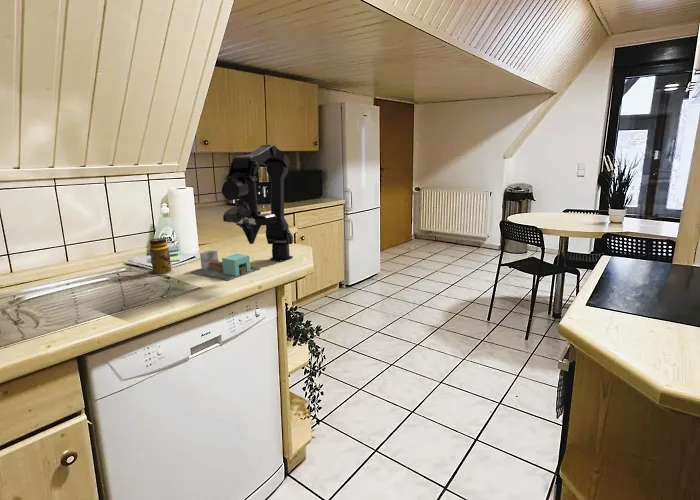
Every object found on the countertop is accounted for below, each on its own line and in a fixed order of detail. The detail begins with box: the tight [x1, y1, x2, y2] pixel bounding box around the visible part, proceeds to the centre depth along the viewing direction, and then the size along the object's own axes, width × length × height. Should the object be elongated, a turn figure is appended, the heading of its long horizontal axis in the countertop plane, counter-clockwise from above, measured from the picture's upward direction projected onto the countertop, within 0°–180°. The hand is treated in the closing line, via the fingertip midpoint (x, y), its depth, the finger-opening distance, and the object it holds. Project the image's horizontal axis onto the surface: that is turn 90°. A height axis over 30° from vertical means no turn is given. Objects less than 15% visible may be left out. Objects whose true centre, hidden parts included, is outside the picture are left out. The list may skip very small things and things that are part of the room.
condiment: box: [144, 237, 175, 278], centre depth 141 cm, size 7×8×12 cm
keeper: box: [221, 253, 251, 276], centre depth 139 cm, size 7×6×5 cm
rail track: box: [189, 249, 261, 282], centre depth 142 cm, size 15×19×6 cm
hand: (251, 243), depth 133 cm, fingers closed
